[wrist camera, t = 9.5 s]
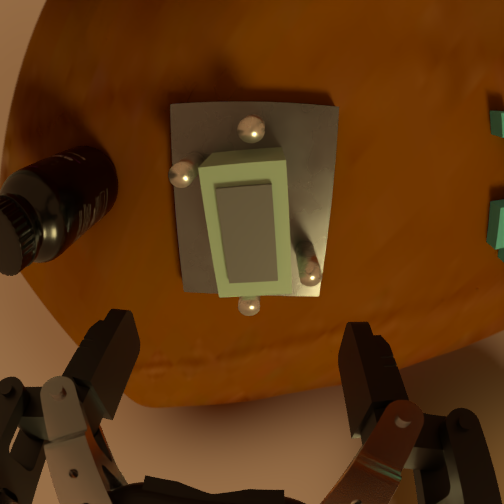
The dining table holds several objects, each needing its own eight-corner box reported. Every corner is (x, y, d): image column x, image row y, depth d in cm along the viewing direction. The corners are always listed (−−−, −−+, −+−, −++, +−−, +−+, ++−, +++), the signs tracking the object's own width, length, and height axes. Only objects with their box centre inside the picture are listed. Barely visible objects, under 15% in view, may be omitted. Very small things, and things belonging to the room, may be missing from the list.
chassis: (174, 103, 21) (151, 106, 16) (335, 106, 21) (354, 108, 16) (186, 284, 29) (173, 320, 24) (316, 288, 28) (325, 325, 24)
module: (212, 153, 22) (196, 168, 17) (281, 146, 21) (286, 161, 17) (227, 261, 26) (218, 299, 21) (287, 258, 25) (292, 296, 21)
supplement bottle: (94, 128, 22) (-8, 163, 11) (134, 194, 25) (56, 265, 14) (47, 172, 24) (-44, 224, 13) (84, 230, 26) (8, 304, 16)
